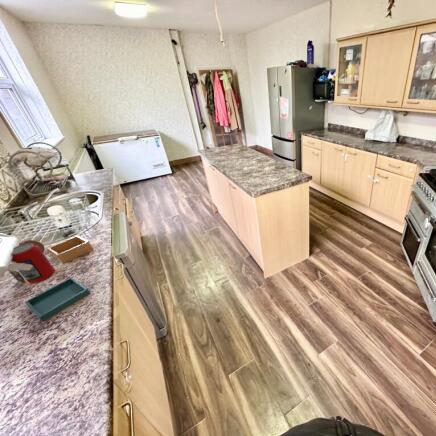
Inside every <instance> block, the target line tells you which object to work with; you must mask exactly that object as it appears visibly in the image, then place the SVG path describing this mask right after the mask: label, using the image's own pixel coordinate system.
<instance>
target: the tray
mask: <svg viewBox="0 0 436 436" xmlns="http://www.w3.org/2000/svg"><path fill="white" fill-rule="evenodd" d="M90 294H91V291H90V290H89V288H87V287H86V286H84V285H83V284H82V283H81V282H79V281H77V279H75V278H73V277H72V276H71V277H69V278H67V279H65V280H63V281H61V282H60V283H57V284H55V285H53V286H52V287H50V288H48V289H46V290H44V291H43V292H41V293H38V294H36V295H35V296H33V297H31V298H29V299H27V300H26V301H24V304H25V305H26V306H27V307H28V308H29V309H30V310H31V311H32V312H33V314H34V315H35V316H36V317H37V318H39V320H40V321H41V322H42V323H44V322H46V320H49V319H50V318H52V317H54V316H55V315H57V314H58V313H60V312H62V311H63V310H65V309H66V308H69V307H70V306H72V305H74V304H76V303H77V302H78V301H80V300H82V299H83V298H85V297H87V296H88V295H90Z"/></svg>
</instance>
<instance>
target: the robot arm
mask: <svg viewBox="0 0 436 436" xmlns="http://www.w3.org/2000/svg"><path fill="white" fill-rule="evenodd" d="M20 243H21V238H18V237H17V236H14V235H10V234H7V233H3V232H0V279H1V278H3V277H4V275H5V274H6V272H7V271H8V270H11V271H14V270H27V271H28V270H30V269H31V268H32V265H33V264H32V263H27V262H25V263H16V262H13V261H11V260H12V258H13V255H12V254H10V253H12V252H13V250H14V249H13V248H15V247H17V246H20Z"/></svg>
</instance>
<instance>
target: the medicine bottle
mask: <svg viewBox="0 0 436 436" xmlns="http://www.w3.org/2000/svg"><path fill="white" fill-rule="evenodd" d="M7 271H8V272H9V273H10V274H11V275H12V277H13V278H14V280H15V281H16V282H19V283H22V284H25V285H31V283H29V282H28V281H27V280H26V279H25V278H24V277H23V275H22V274H21V273H20V272H19V271H18V270H14V271H11V270H7Z"/></svg>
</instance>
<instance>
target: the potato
mask: <svg viewBox="0 0 436 436" xmlns="http://www.w3.org/2000/svg"><path fill="white" fill-rule="evenodd" d="M28 243H32V244H33V245H35V246H38V247H39V248H40V250H41V251H42V252H43V253H44V252H45V245H44V243H42V242H41V241H39V240H36V239H28V240H25V241H23V242H22V243H21V244H20V245H23V244H28Z"/></svg>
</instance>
